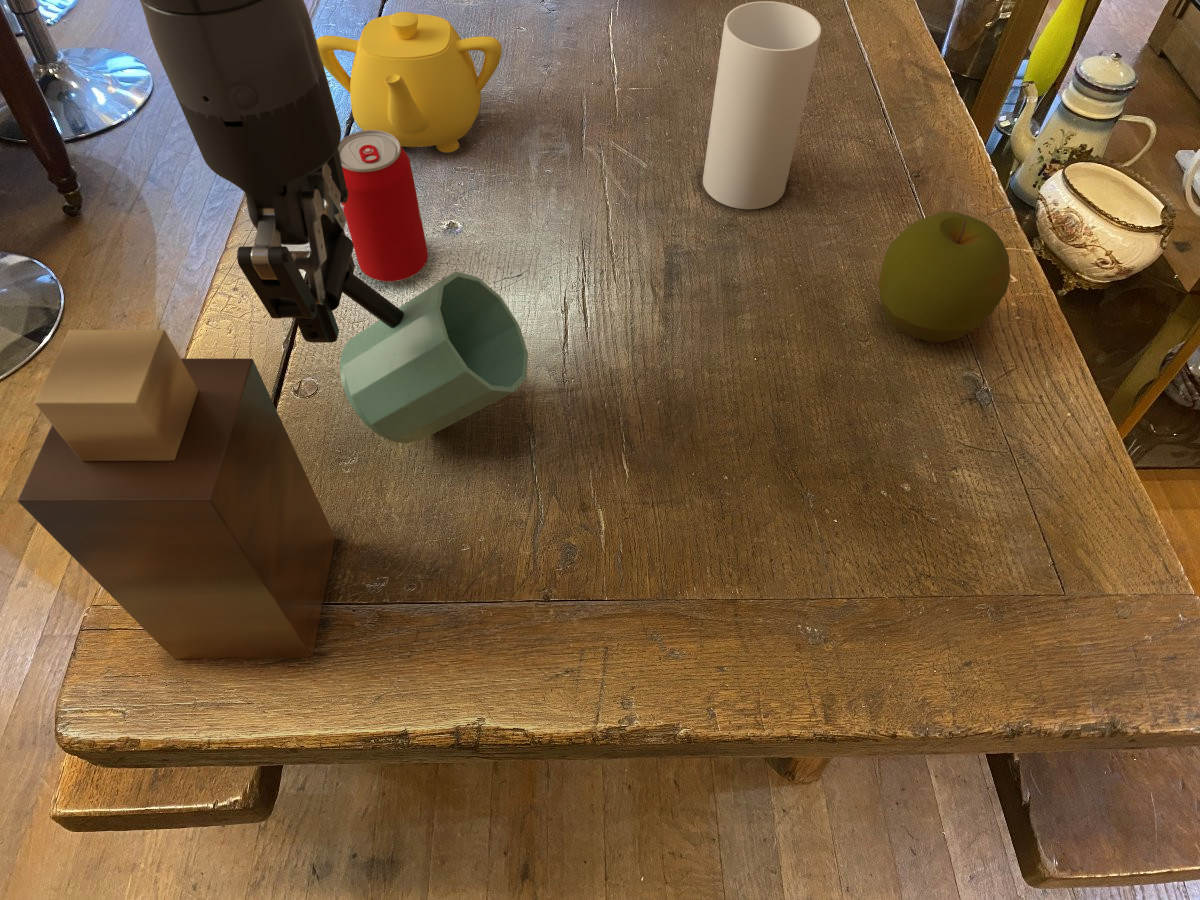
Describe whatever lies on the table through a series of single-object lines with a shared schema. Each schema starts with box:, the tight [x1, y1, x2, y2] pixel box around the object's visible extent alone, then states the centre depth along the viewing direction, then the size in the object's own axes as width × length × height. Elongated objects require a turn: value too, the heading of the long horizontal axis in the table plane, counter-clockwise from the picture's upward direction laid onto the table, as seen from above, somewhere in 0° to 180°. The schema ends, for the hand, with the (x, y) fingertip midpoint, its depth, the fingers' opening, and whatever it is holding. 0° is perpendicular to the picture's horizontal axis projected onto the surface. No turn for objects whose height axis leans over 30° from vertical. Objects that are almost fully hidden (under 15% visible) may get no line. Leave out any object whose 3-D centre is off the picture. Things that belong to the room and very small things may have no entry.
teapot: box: [316, 11, 503, 153], centre depth 85 cm, size 14×14×12 cm
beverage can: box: [338, 130, 429, 283], centre depth 73 cm, size 6×6×12 cm
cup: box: [702, 0, 822, 210], centre depth 79 cm, size 8×8×16 cm
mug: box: [321, 233, 529, 444], centre depth 60 cm, size 15×9×10 cm
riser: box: [17, 357, 336, 660], centre depth 50 cm, size 9×9×19 cm
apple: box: [877, 210, 1011, 343], centre depth 70 cm, size 10×10×11 cm
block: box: [34, 329, 198, 461], centre depth 41 cm, size 4×4×4 cm
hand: (331, 304), depth 58 cm, fingers closed on mug, 5 cm apart
